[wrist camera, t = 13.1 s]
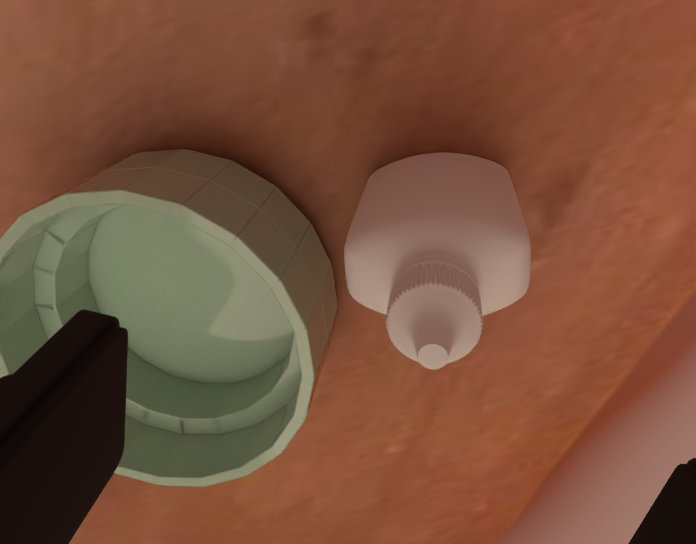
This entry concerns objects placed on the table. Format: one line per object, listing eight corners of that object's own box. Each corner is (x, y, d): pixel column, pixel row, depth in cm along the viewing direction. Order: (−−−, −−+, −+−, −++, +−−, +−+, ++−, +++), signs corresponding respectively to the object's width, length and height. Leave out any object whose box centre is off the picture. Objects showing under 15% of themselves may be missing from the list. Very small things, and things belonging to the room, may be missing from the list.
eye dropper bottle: (473, 264, 26) (494, 468, 15) (353, 208, 25) (287, 375, 15) (527, 175, 24) (596, 335, 13) (398, 113, 23) (360, 225, 13)
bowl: (64, 114, 25) (-37, 151, 20) (365, 187, 25) (343, 244, 20) (69, 362, 31) (-9, 441, 26) (312, 425, 31) (284, 518, 25)
